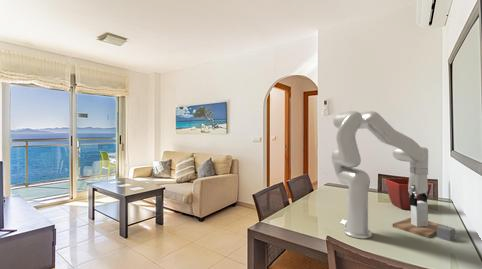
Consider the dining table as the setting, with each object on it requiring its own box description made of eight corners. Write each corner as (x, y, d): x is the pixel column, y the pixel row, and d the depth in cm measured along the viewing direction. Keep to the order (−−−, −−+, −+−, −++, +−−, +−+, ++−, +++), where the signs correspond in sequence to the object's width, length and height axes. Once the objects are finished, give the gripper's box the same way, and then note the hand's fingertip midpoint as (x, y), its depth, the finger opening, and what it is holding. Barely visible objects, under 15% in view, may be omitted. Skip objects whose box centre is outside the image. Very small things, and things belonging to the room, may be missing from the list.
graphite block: (436, 237, 112) (436, 226, 112) (441, 235, 115) (441, 224, 115) (449, 241, 108) (449, 230, 108) (455, 239, 110) (454, 228, 110)
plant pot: (413, 202, 166) (413, 178, 166) (432, 211, 147) (432, 184, 147) (384, 202, 168) (384, 178, 168) (399, 211, 149) (399, 184, 149)
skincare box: (421, 223, 125) (421, 200, 125) (428, 226, 121) (428, 202, 121) (410, 223, 125) (410, 200, 125) (416, 226, 121) (416, 203, 121)
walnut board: (392, 226, 125) (392, 223, 125) (412, 219, 135) (412, 216, 135) (428, 238, 111) (428, 234, 111) (447, 229, 121) (447, 226, 121)
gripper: (419, 169, 130) (418, 200, 130) (401, 171, 122) (401, 204, 122) (435, 171, 124) (435, 204, 124) (418, 173, 116) (417, 208, 116)
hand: (418, 204), depth 123 cm, fingers open, 9 cm apart
